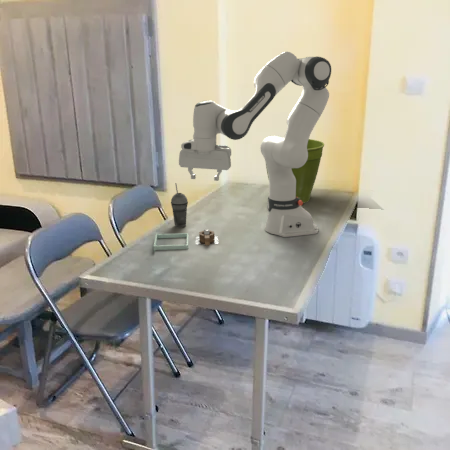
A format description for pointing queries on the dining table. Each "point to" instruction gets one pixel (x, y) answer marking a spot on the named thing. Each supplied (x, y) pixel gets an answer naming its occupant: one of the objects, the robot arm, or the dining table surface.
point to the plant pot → (308, 170)
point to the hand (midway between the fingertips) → (204, 179)
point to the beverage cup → (179, 209)
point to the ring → (206, 237)
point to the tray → (167, 247)
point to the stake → (206, 232)
